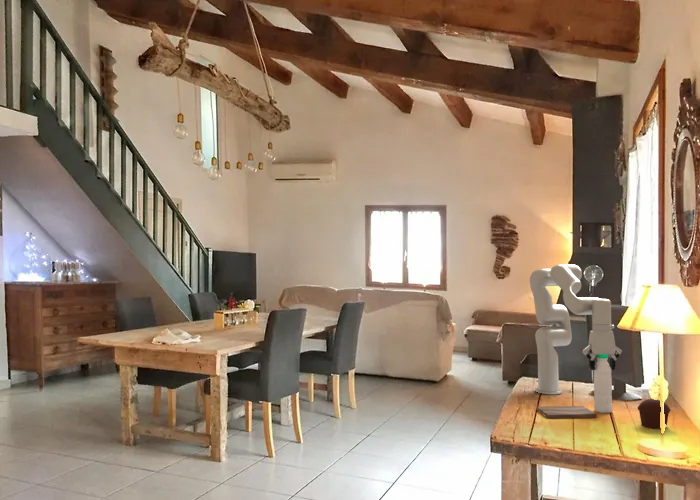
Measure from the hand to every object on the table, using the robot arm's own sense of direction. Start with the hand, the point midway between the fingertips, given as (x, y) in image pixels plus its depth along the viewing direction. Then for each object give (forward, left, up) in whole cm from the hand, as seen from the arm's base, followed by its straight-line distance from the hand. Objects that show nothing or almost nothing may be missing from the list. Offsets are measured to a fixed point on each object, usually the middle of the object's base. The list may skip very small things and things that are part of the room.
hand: (602, 369), depth 261 cm
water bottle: (0, 0, -18) cm, 18 cm away
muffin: (+23, +10, -18) cm, 31 cm away
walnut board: (+3, -17, -18) cm, 25 cm away
